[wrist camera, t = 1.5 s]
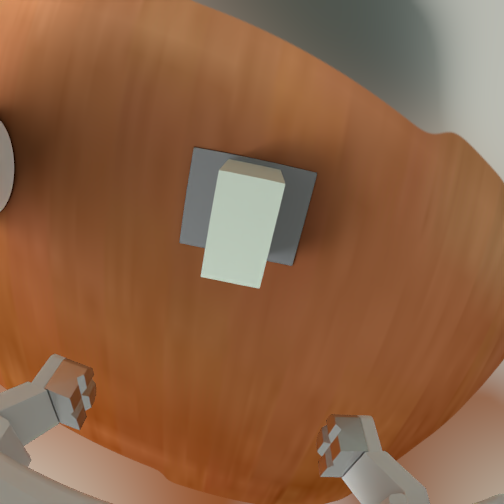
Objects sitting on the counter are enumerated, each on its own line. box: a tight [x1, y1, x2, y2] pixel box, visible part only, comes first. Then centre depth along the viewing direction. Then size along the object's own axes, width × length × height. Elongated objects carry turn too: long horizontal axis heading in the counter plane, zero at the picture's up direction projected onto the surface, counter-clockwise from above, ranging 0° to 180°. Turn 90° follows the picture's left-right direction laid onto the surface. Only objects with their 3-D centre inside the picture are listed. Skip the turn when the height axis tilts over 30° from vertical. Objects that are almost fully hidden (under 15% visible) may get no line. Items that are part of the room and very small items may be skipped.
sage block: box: [201, 159, 285, 289], centre depth 28 cm, size 5×9×7 cm, turn 168°
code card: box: [179, 147, 317, 266], centre depth 32 cm, size 12×10×1 cm
